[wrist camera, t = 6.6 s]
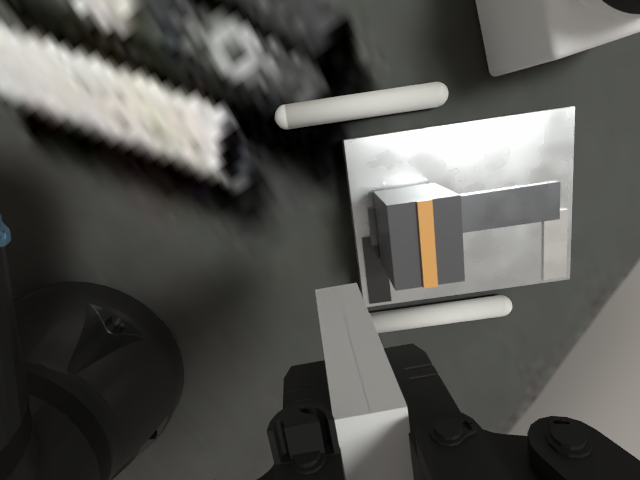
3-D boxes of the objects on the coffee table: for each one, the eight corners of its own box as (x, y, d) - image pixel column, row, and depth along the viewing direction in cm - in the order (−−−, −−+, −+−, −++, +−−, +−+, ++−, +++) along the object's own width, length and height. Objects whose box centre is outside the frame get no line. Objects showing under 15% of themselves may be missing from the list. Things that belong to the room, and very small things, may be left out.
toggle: (381, 262, 28) (395, 292, 23) (373, 191, 26) (387, 206, 21) (438, 254, 28) (466, 282, 23) (433, 182, 26) (462, 195, 21)
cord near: (278, 130, 28) (275, 131, 26) (274, 106, 27) (271, 105, 26) (444, 106, 27) (452, 104, 26) (443, 81, 27) (451, 78, 26)
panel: (361, 296, 31) (364, 309, 29) (341, 139, 28) (344, 140, 26) (553, 269, 31) (572, 280, 29) (556, 107, 28) (577, 106, 25)
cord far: (361, 328, 32) (363, 339, 30) (359, 310, 32) (361, 320, 30) (506, 308, 32) (516, 318, 30) (506, 290, 31) (516, 298, 30)
